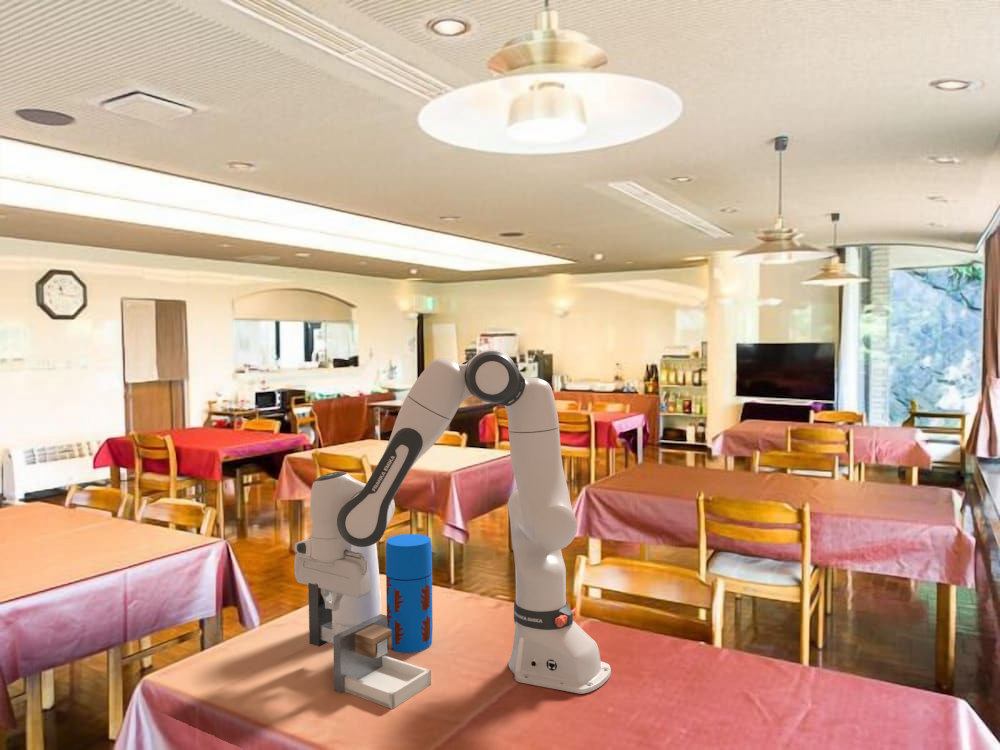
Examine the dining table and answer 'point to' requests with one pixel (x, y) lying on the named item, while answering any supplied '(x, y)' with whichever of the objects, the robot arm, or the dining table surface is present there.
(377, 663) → the bearing wall
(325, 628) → the shaft
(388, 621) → the thermos
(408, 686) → the tray
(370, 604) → the vase
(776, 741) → the dining table surface
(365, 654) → the block
